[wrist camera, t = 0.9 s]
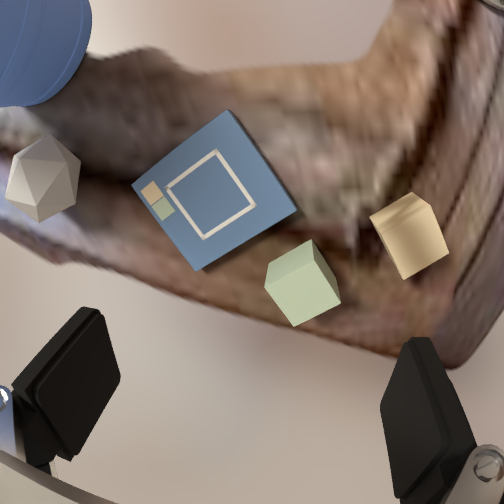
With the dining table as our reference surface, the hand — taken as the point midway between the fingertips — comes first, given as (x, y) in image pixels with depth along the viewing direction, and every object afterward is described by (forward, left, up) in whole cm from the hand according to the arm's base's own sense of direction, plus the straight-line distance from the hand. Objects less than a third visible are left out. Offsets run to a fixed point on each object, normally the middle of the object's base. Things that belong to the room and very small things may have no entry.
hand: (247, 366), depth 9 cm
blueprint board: (+6, -4, -23) cm, 24 cm away
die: (+18, -16, -23) cm, 34 cm away
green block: (+3, +8, -23) cm, 24 cm away
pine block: (-8, +9, -23) cm, 26 cm away
